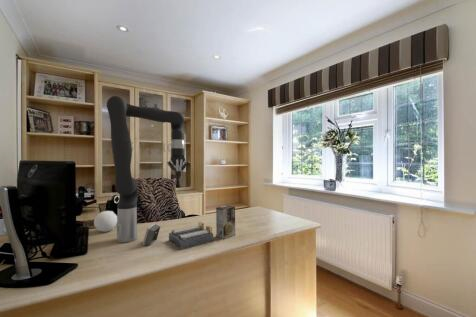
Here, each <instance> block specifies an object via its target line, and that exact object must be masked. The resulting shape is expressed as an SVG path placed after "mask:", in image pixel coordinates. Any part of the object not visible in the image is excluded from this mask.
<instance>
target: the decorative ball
mask: <svg viewBox="0 0 476 317" xmlns="http://www.w3.org/2000/svg"><path fill="white" fill-rule="evenodd" d="M117 222H118V215H117V214H116V213H115V212H114V211H113V210H103V211H101V212H99V213H98V214H97V215H96V216H95V218H94V220H93V226H94V228H95V229H96V230H98V231H99V232H101V233H102V232H105V233H106V232H110V231H112V230H113V229H114V228H115V227H117Z"/></svg>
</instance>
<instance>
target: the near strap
mask: <svg viewBox="0 0 476 317" xmlns="http://www.w3.org/2000/svg"><path fill="white" fill-rule="evenodd" d="M207 233H209V231H207V230H206V229H205V230H203V231H198V232H194V233H189V234H185V235H181V236H180V238H181V239H182V237H185V239H186V238H190V237H195V236H199V235H203V234H207Z"/></svg>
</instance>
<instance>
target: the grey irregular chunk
mask: <svg viewBox="0 0 476 317" xmlns="http://www.w3.org/2000/svg"><path fill="white" fill-rule="evenodd" d="M160 229H161V226H160V225H157V223H156V222H154V223H152V224H151V225H149V226H148V227H147V228H146V230H145V234H144V238H143V241H142V246H151V245H153V244H154V243H155V242H156V241H157V240H158V236H159V232H160Z"/></svg>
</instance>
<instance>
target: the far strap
mask: <svg viewBox="0 0 476 317" xmlns="http://www.w3.org/2000/svg"><path fill="white" fill-rule="evenodd" d="M198 229H201V227H199V226H198V225H196V226H191V227H185V228H181V229H177V230H176V229H174V230H175V231H173V233H174V234H175V233H176V232H178V234H179V233H184V232H188V231H193V230H198Z"/></svg>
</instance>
